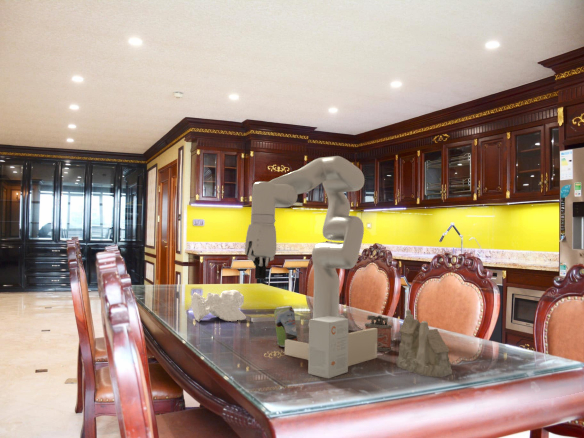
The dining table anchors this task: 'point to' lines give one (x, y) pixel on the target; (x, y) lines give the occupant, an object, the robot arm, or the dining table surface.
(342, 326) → the small box
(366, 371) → the dining table surface
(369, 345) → the box
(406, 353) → the ceramic cottage
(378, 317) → the lighter
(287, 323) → the beverage can
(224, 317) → the cherub figurine
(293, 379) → the dining table surface
